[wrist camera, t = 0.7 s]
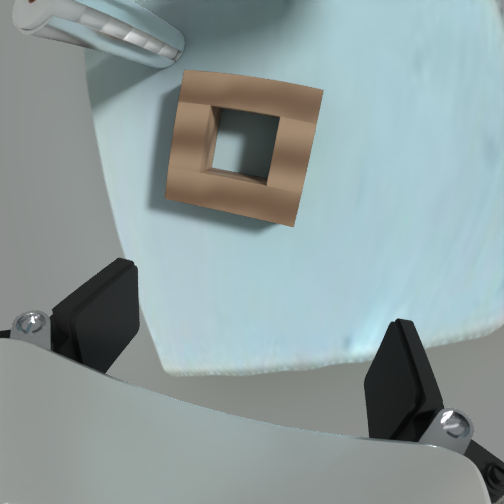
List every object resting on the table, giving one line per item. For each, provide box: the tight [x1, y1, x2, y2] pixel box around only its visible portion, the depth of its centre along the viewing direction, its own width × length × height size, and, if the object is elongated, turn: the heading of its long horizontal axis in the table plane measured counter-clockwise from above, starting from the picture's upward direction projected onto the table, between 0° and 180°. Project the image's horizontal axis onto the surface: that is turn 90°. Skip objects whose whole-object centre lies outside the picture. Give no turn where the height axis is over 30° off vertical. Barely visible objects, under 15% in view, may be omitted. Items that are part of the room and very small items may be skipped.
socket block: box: [165, 70, 323, 227], centre depth 37 cm, size 16×16×5 cm
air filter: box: [12, 0, 185, 69], centre depth 24 cm, size 6×6×25 cm
